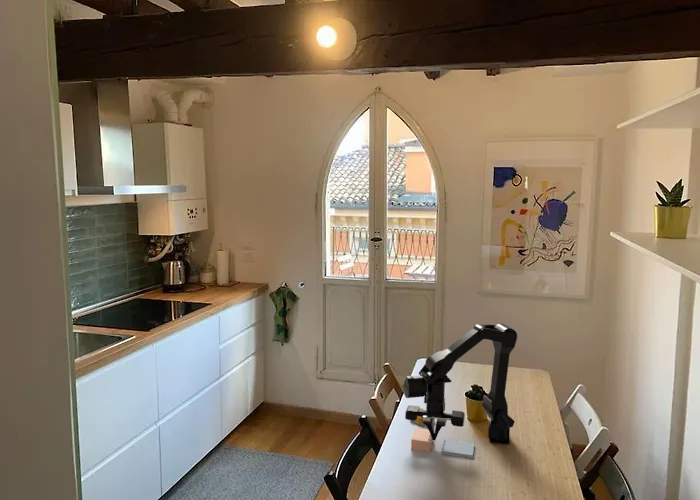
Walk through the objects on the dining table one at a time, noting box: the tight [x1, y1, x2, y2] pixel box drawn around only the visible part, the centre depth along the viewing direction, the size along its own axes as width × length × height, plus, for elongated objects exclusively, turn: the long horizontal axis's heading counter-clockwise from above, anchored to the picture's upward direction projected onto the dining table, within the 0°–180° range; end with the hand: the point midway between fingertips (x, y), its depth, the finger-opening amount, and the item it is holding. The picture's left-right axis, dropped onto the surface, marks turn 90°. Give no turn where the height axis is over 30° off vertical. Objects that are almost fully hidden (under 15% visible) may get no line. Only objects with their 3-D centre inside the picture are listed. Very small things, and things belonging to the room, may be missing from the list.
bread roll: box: [411, 407, 436, 426], centre depth 198 cm, size 8×9×4 cm
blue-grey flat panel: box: [440, 438, 475, 459], centre depth 177 cm, size 10×8×1 cm
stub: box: [410, 427, 434, 453], centre depth 180 cm, size 6×8×4 cm
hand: (434, 440), depth 179 cm, fingers closed
